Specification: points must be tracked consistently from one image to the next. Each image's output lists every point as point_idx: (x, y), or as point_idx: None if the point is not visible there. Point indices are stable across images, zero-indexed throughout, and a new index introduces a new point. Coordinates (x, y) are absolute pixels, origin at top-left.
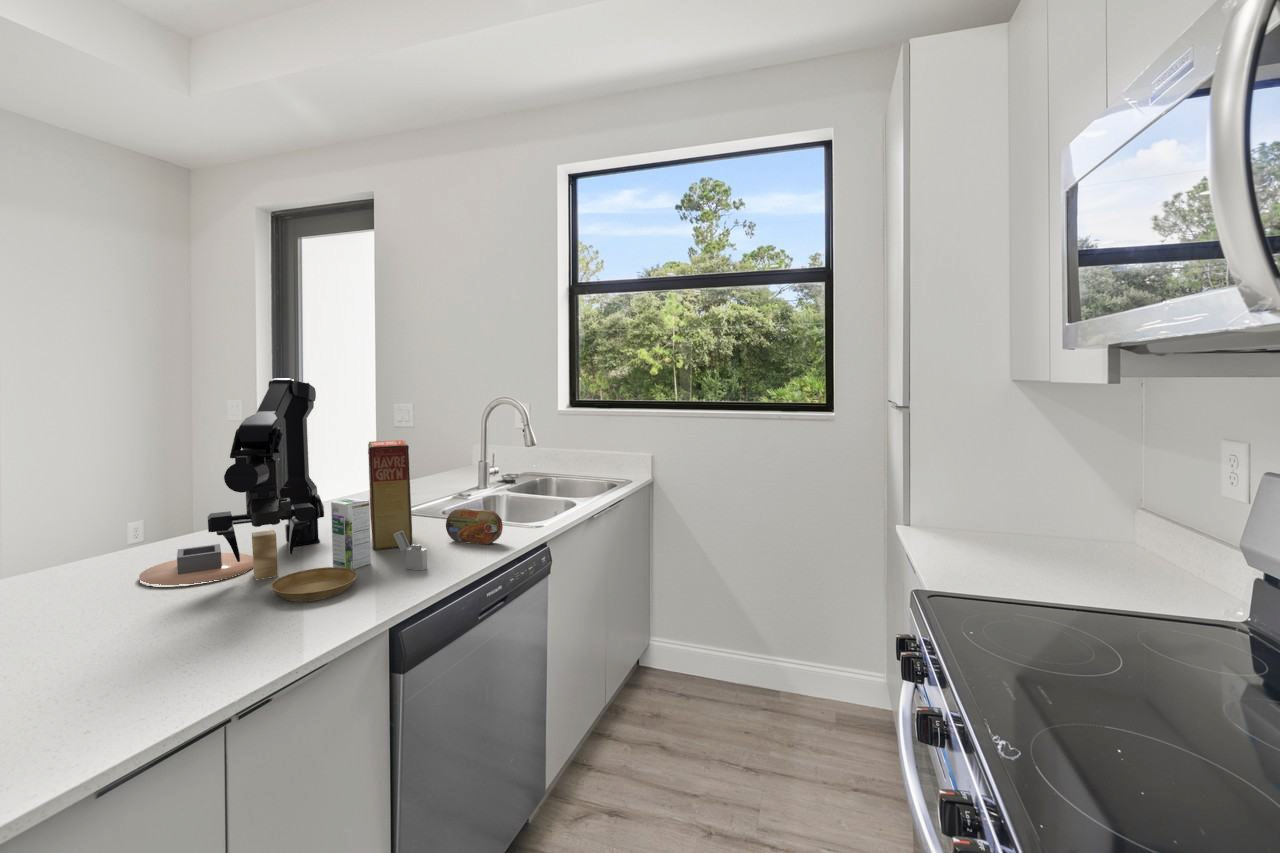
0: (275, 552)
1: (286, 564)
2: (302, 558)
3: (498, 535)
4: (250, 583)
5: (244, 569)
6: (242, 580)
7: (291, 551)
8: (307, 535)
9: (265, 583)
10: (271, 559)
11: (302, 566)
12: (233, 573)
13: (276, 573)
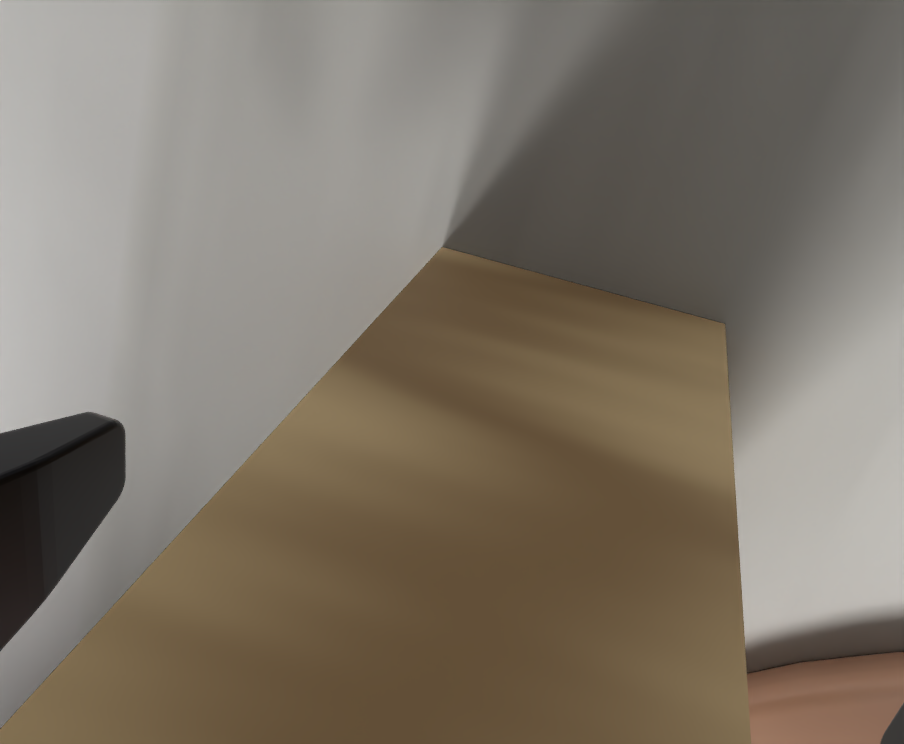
0: (313, 426)
1: None
2: None
3: None
4: (848, 218)
5: None
6: (847, 448)
7: (63, 428)
8: None
9: (696, 26)
10: (436, 386)
11: (124, 414)
12: (855, 693)
13: (446, 268)
